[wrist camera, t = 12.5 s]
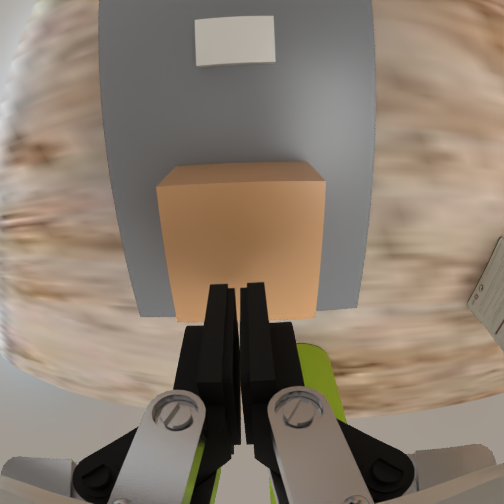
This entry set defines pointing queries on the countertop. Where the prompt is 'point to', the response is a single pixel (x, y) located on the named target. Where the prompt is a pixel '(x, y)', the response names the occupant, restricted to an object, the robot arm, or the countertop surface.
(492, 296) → the supplement box
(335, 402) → the soap dispenser
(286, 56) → the socket
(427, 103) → the countertop surface
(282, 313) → the plug
